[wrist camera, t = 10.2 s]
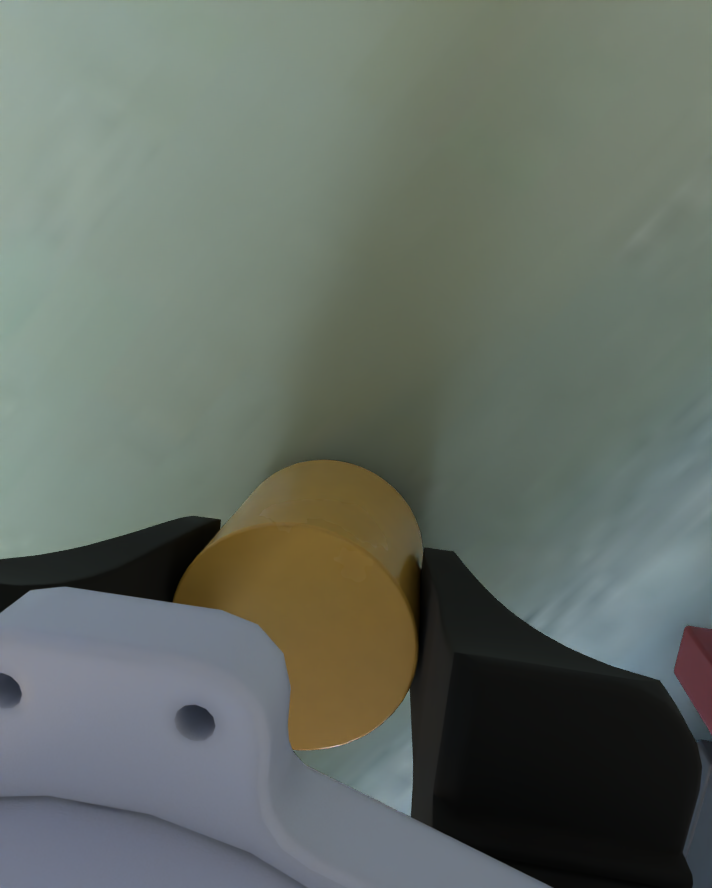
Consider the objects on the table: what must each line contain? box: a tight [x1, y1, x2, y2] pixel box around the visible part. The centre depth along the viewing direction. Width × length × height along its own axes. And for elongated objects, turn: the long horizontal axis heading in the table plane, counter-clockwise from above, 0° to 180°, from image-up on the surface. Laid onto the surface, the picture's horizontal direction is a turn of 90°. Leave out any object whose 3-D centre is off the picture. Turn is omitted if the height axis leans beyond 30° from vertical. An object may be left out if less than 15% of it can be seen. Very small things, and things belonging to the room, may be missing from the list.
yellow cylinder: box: [172, 460, 423, 750], centre depth 13 cm, size 4×4×4 cm
